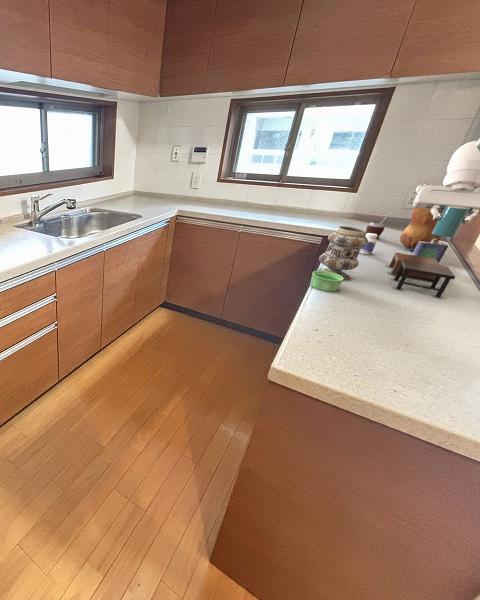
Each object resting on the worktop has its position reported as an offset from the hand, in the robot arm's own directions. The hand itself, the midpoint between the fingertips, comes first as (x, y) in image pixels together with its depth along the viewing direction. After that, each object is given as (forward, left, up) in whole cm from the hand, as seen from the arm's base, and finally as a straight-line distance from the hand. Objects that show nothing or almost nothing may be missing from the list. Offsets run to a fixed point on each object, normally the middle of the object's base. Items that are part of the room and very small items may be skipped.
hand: (451, 220), depth 104 cm
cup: (0, -1, -5) cm, 5 cm away
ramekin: (+26, +21, -24) cm, 41 cm away
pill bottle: (+14, -40, -24) cm, 48 cm away
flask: (-6, -39, -24) cm, 46 cm away
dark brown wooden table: (0, 0, -24) cm, 24 cm away
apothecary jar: (+24, +4, -24) cm, 34 cm away
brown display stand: (0, -18, -24) cm, 30 cm away
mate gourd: (+10, -77, -24) cm, 81 cm away
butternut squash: (-5, -61, -24) cm, 65 cm away
